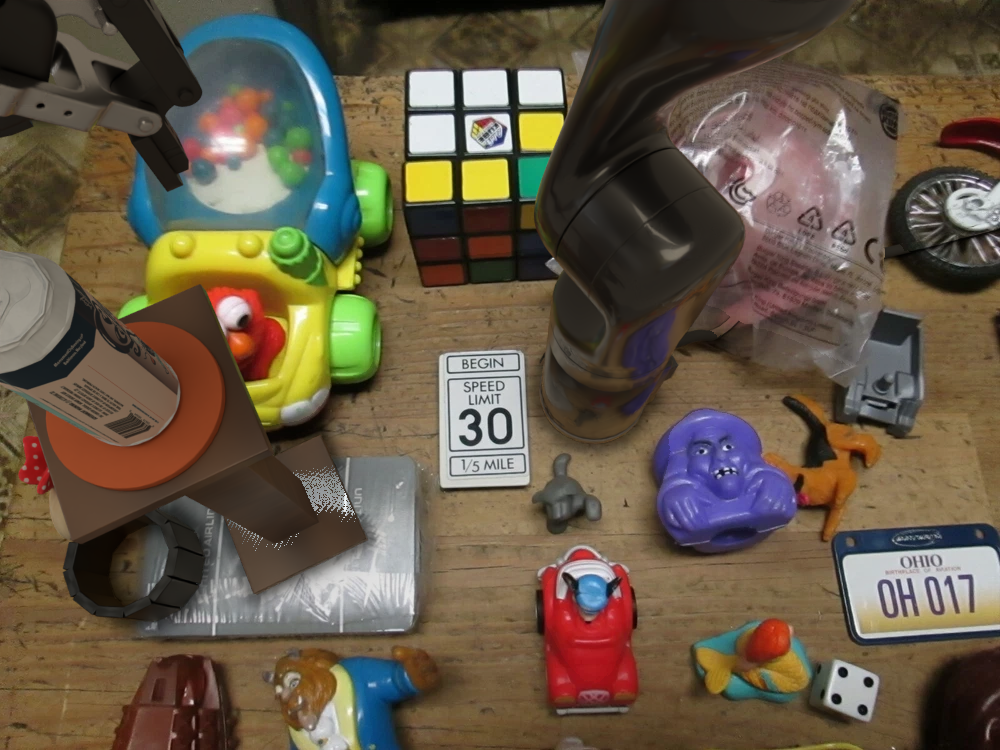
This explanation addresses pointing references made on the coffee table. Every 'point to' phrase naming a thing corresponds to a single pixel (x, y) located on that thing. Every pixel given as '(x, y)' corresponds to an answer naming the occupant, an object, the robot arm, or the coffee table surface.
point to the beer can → (79, 355)
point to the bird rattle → (42, 481)
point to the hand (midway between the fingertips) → (71, 213)
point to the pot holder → (174, 442)
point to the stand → (223, 473)
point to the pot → (169, 594)
